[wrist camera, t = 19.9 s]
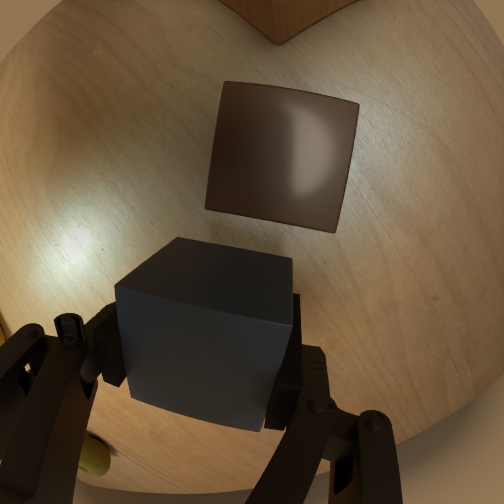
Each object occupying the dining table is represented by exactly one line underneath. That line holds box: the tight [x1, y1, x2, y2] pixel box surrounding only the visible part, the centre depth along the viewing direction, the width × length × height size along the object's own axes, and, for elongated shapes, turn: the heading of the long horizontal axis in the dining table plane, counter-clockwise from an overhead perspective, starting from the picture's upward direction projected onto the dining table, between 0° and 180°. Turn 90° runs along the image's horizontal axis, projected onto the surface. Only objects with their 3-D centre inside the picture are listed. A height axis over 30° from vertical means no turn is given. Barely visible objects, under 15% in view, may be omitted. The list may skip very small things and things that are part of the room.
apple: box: [78, 436, 111, 477], centre depth 31 cm, size 8×8×7 cm
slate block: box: [114, 237, 293, 432], centre depth 12 cm, size 6×6×6 cm
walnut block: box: [205, 81, 360, 234], centre depth 14 cm, size 6×6×6 cm
